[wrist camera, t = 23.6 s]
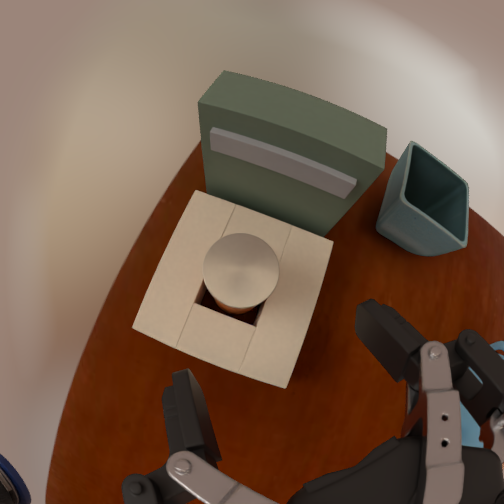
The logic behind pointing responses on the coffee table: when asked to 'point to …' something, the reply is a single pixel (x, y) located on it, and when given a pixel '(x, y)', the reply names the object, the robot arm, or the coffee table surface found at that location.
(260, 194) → the green upright block
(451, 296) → the coffee table surface
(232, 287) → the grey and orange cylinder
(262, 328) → the hollow square tile
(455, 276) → the coffee table surface
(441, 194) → the flower pot
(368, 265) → the coffee table surface
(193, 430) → the robot arm
